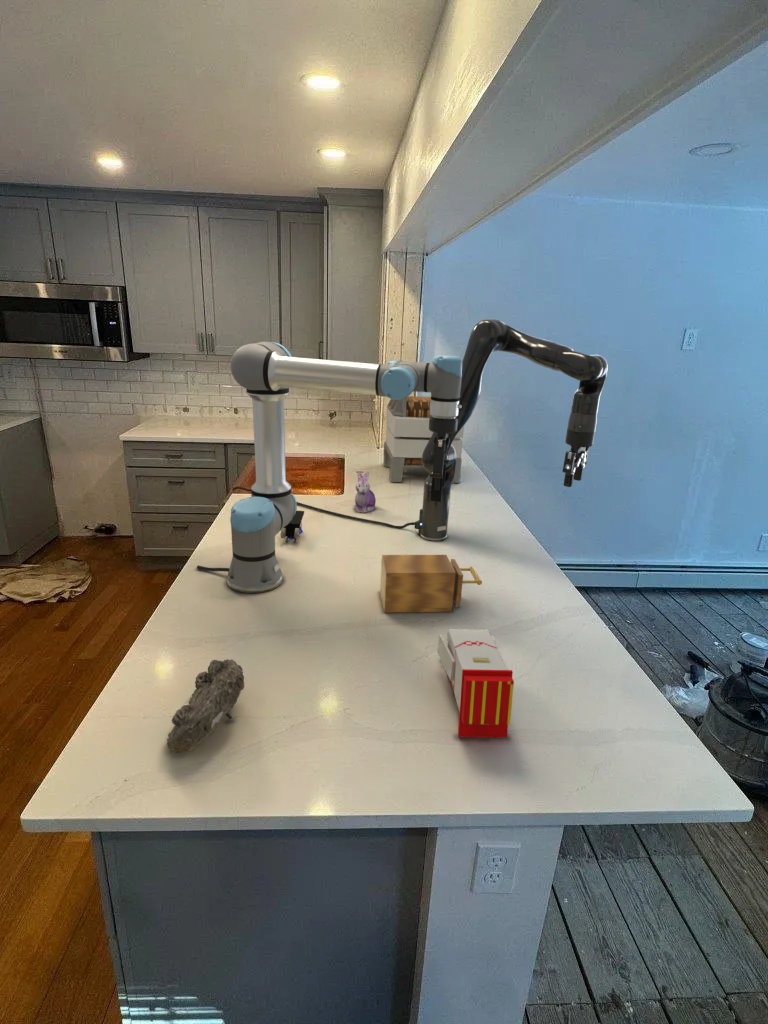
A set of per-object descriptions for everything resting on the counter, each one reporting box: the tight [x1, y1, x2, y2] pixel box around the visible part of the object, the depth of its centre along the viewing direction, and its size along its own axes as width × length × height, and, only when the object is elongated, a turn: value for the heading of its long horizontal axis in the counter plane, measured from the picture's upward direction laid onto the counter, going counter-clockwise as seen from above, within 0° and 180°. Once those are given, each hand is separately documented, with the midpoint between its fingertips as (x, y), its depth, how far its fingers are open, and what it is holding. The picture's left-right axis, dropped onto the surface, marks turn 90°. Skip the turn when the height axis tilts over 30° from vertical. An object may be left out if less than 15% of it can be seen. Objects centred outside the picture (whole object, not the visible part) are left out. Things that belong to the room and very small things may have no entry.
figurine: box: [354, 470, 376, 513], centre depth 220 cm, size 9×10×15 cm
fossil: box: [166, 658, 245, 754], centre depth 106 cm, size 22×10×15 cm
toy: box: [437, 628, 515, 738], centre depth 117 cm, size 12×13×30 cm
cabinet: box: [379, 554, 455, 613], centre depth 152 cm, size 18×11×12 cm, turn 96°
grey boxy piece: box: [383, 395, 465, 484], centre depth 268 cm, size 34×33×41 cm
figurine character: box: [280, 510, 305, 544], centre depth 192 cm, size 7×8×15 cm
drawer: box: [449, 558, 483, 608], centre depth 153 cm, size 22×10×9 cm, turn 96°
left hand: (437, 493), depth 156 cm, fingers open, 13 cm apart
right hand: (572, 483), depth 165 cm, fingers open, 8 cm apart
